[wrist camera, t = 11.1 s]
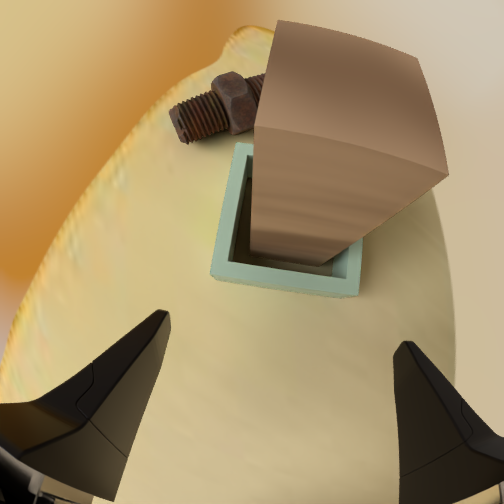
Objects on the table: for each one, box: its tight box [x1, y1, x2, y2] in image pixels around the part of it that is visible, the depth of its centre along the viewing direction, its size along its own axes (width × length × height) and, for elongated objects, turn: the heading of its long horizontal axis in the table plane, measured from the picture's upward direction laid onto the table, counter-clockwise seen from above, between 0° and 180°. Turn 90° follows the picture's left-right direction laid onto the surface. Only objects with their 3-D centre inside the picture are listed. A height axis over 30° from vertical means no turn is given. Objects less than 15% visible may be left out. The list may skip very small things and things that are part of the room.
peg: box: [250, 20, 449, 267], centre depth 12 cm, size 4×4×13 cm
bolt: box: [169, 71, 265, 144], centre depth 18 cm, size 6×5×15 cm
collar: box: [210, 142, 363, 298], centre depth 17 cm, size 8×8×3 cm
